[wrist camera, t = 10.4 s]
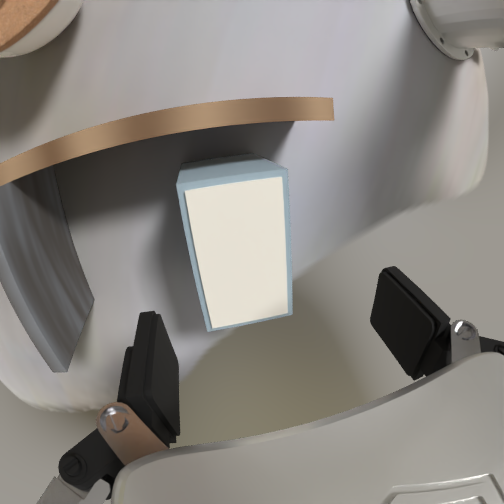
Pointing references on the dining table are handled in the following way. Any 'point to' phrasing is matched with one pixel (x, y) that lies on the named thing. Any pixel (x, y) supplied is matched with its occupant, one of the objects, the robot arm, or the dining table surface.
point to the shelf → (55, 225)
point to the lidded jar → (33, 23)
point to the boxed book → (238, 238)
